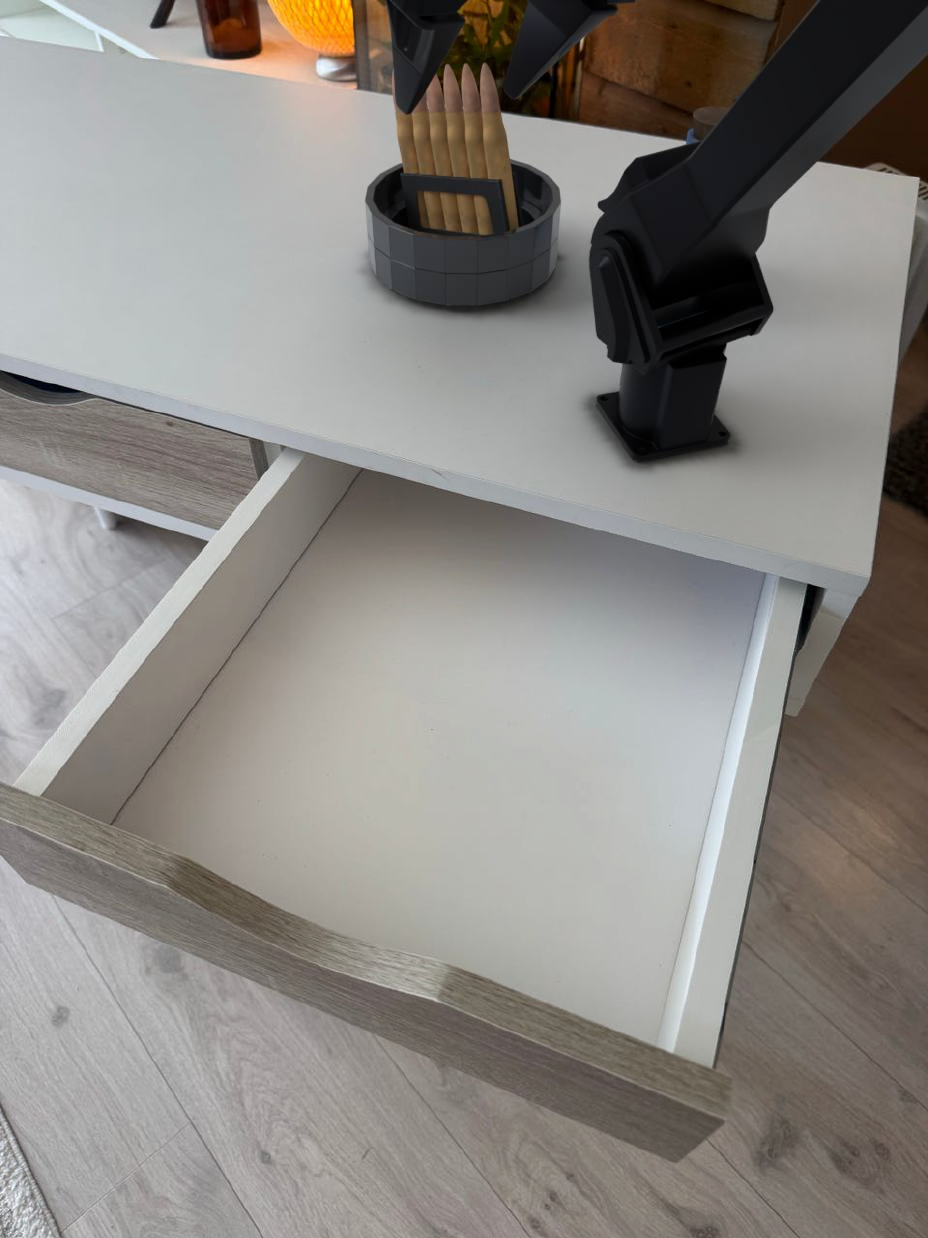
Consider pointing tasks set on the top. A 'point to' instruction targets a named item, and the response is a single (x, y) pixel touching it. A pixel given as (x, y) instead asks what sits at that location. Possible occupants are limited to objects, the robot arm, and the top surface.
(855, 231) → the top surface
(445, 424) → the top surface
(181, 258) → the top surface
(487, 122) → the ammunition clip
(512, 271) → the bowl
